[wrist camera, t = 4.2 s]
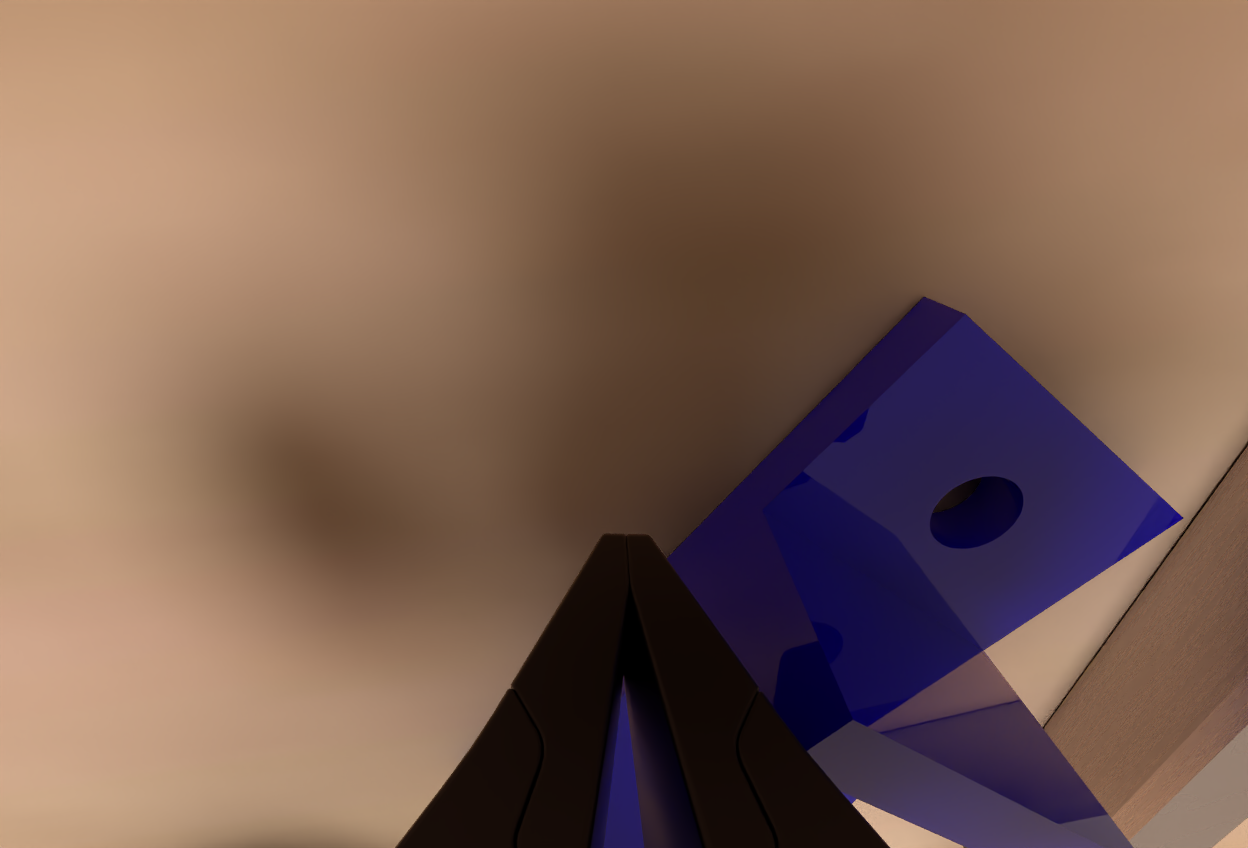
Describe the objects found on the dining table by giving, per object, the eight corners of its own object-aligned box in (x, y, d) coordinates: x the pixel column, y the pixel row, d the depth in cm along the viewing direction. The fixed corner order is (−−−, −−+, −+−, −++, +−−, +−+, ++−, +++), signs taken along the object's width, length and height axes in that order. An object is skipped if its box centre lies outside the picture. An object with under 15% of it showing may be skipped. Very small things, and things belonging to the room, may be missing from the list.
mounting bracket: (907, 289, 10) (1264, 441, 4) (1106, 470, 12) (1512, 722, 6) (468, 744, 16) (398, 1028, 11) (645, 810, 18) (658, 1075, 13)
